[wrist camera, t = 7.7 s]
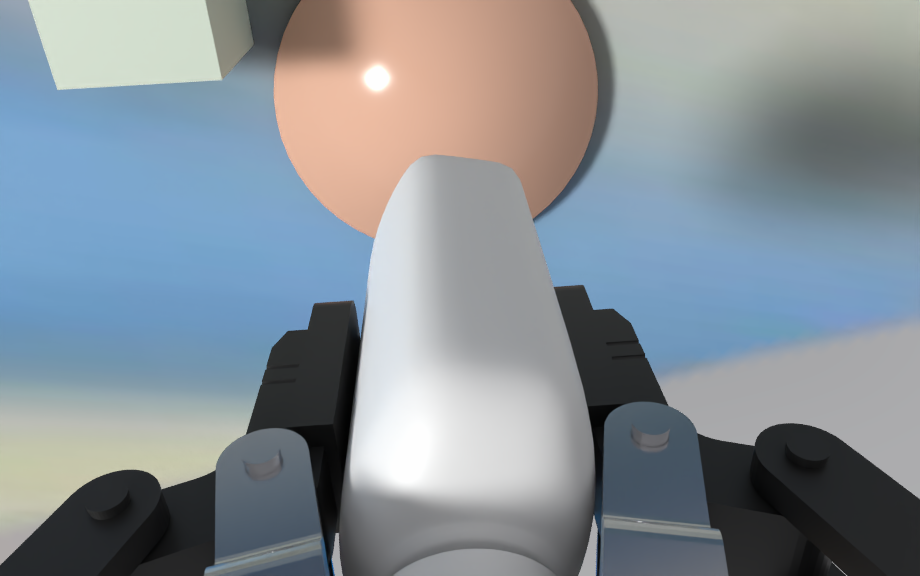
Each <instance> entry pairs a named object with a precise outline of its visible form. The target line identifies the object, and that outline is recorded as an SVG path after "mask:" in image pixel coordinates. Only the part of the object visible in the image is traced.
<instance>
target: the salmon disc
mask: <svg viewBox="0 0 920 576" xmlns="http://www.w3.org/2000/svg"><path fill="white" fill-rule="evenodd" d="M597 101H598V77H597V69H596V63H595V57H594V52H593V49H592V46H591V42H590V39H589V35H588V33H587V30H586V28H585V26H584V24H583V22H582V19H581V17H580V15H579V13H578V11H577V10H576V8H575V7H574V5H573V4H572V2H571V0H301V1H300V3H299V4H298V6H297V7H296V9H295V10H294V12H293V14H292V16H291V18H290V20H289V23H288V25H287V27H286V29H285V31H284V34H283V37H282V41H281V44H280V48H279V51H278V55H277V61H276V68H275V74H274V102H275V111H276V118H277V122H278V126H279V130H280V134H281V138H282V141H283V143H284V146H285V148H286V151H287V153H288V156H289V158H290V160H291V162H292V164H293V165H294V167H295V169H296V171H297V173H298V175H299V176H300V177H301V179H302V180H303V182H304V183H305V184H306V186H307V187H308V189H309V190H310V191H311V192H312V193H313V195H314V196H315V197H316V198H317V199H318V200H319V201H320V202H321V203H322V204H323V205H324V206H325V207H326V208H327V209H328V210H330V211H331V212H332V213H333V214H334V215H336V216H337V217H338V218H339V219H341V220H342V221H344V222H345V223H347V224H348V225H350V226H351V227H353V228H354V229H356V230H358V231H360V232H362V233H364V234H366V235H368V236H370V237H372V238H375V237H376V233H377V230H378V227H379V224H380V221H381V218H382V215H383V213H384V211H385V208H386V206H387V204H388V201H389V199H390V197H391V195H392V193H393V191H394V189H395V188H396V186H397V184H398V182H399V181H400V179H401V177H402V176H403V174H404V173H405V172H406V170H407V169H408V167H409V166H410V165H411V164H412V163H414V162H415V161H416V160H418V159H419V158H420V157H423V156H429V155H446V156H456V157H463V158H471V159H479V160H486V161H492V162H498V163H501V164H503V165H506V166H508V167H510V168H512V169H513V170H514V172H515V173H516V175H517V176H518V177H519V179H520V181H521V184H522V187H523V190H524V193H525V197H526V200H527V203H528V206H529V209H530V213H531V216H532V219H533V218H535V217H536V216H537V215H538V214H539V213H541V212H542V211H543V210H544V209H545V208H546V207H547V206H549V205H550V204H551V203H552V201H553V200H554V199H555V198H556V197H557V196H558V195H559V194H560V193H561V192H562V190H563V189H564V188H565V186H566V185H567V183H568V182H569V181H570V179H571V178H572V176H573V175H574V173H575V172H576V170H577V168H578V166H579V164H580V162H581V160H582V158H583V157H584V154H585V151H586V149H587V146H588V144H589V141H590V138H591V135H592V131H593V126H594V122H595V118H596V110H597Z"/></svg>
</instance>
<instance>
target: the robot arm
mask: <svg viewBox="0 0 920 576" xmlns="http://www.w3.org/2000/svg"><path fill="white" fill-rule="evenodd" d="M554 290H555V293H556V297H557V300H558V303H559V306H560V310H561V313H562V316H563V320H564V323H565V326H566V329H567V333H568V336H569V339H570V343H571V346H572V350H573V353H574V357H575V361H576V364H577V368H578V371H579V375H580V379H581V382H582V386H583V389H584V394H585V399H586V403H587V408H588V413H589V419H590V424H591V430H592V437H593V443H594V458H595V472H596V478H595V504H594V514H593V515H594V516H595V520H596V524H597V528H598V533H597V534H598V535H597V549H596V576H846V575H847V576H920V499H919V498H917V497H916V496H915V495H913V494H912V493H911V492H909V491H908V490H907V489H905V488H904V487H903V486H901V485H900V484H899V483H897V482H896V481H895V480H893V479H892V478H891V477H890V476H888V475H887V474H886V473H884V472H883V471H882V470H880V469H879V468H878V467H876V466H875V465H874V464H872V463H871V462H870V461H868V460H867V459H866V458H864V457H863V456H862V455H860V454H859V453H857V452H856V451H855V450H853V449H852V448H851V447H850V446H848V445H847V444H846V443H844V442H843V441H842V440H840V439H839V438H837V437H836V436H834V435H832V434H830V433H828V432H826V431H824V430H821V429H819V428H816V427H812V426H808V425H803V424H794V423H790V424H789V423H788V424H778V425H775V426H771V427H769V428H767V429H765V430H764V431H763V432H761V433H760V434H759V436H758V437H757V439H756V442H755V446H751V445H744V444H738V443H732V442H726V441H720V440H715V439H711V438H708V437H705V436H703V435H700V434H698V433H697V432H696V429H695V427H694V425H693V423H692V422H691V421H690V419H688V418H687V417H686V416H685V415H684V414H683V413H681V412H679V411H678V410H676V409H674V408H672V407H669V406H668V404H667V402H666V400H665V397H664V396H663V393H662V391H661V388H660V386H659V384H658V382H657V380H656V377H655V375H654V373H653V371H652V369H651V367H650V364H649V362H648V360H647V358H645V353H644V351H643V349H642V347H641V345H640V344H639V340H638V338H637V336H636V334H635V331H634V329H633V327H632V325H631V323H630V322H629V321H628V320H626V319H625V318H624V317H623V316H621V315H620V314H619V313H618V312H616V311H615V310H614V309H602V310H593V308H592V306H591V303H590V300H589V298H588V295H587V293H586V290H585V288H584V286H583V285H576V286H562V287H554ZM359 348H360V333H359V327H358V320H357V313H356V307H355V304H354V301H340V302H326V303H315V304H314V306H313V309H312V314H311V318H310V322H309V326H308V330H296V331H288V332H287V333H286V334H285V335H284V336H283V337H282V338H281V339H280V340H279V341H278V342H277V343H276V344H275V345H274V346H273V347H272V349H271V353H270V356H269V359H268V363H267V370H265V373H264V376H263V379H262V385H261V386H260V389H259V393H258V396H257V399H256V403H255V406H254V409H253V413H252V416H251V419H250V423H249V426H248V429H247V433H246V435H244V436H242V437H240V438H238V439H237V440H236V441H234V442H233V443H231V444H230V445H229V446H228V447H227V448H226V449H225V450H224V451H223V452H222V454H221V455H220V457H219V459H218V461H217V464H216V470H215V471H213V472H211V473H209V474H207V475H205V476H202V477H200V478H197V479H194V480H191V481H187V482H184V483H181V484H178V485H174V486H171V487H168V488H165V489H161V487H160V484H159V482H158V480H157V479H156V478H155V477H154V476H153V475H151V474H149V473H147V472H144V471H140V470H122V471H116V472H112V473H109V474H106V475H103V476H100V477H98V478H96V479H94V480H92V481H90V482H88V483H87V484H85V485H84V486H82V487H81V488H79V489H78V490H77V491H76V492H75V493H73V494H72V495H71V496H70V497H69V498H68V499H67V500H66V501H65V502H64V503H63V504H62V505H61V506H60V507H59V508H58V509H57V510H56V511H55V512H54V513H53V514H52V515H51V516H50V517H49V518H48V519H47V520H46V521H45V522H44V523H43V524H42V525H41V526H40V527H39V528H38V529H37V530H36V531H35V532H34V533H33V534H32V535H31V536H30V537H29V538H28V539H27V540H25V542H23V543H22V544H21V546H20V547H18V549H16V550H15V552H14V553H12V554H11V555H10V556H9V557H8V558H7V559H6V560H5V561H4V562H3V563H2V564H1V565H0V576H335V574H334V568H333V563H332V555H333V549H334V541H335V533H339V523H340V508H341V497H342V488H343V479H344V471H345V463H346V454H347V446H348V438H349V430H350V421H351V413H352V405H353V397H354V389H355V381H356V373H357V364H358V356H359ZM832 562H833V563H834V564H835V565H837V566H838V567H839V568H840V569H841V570H842V571H843V572H844V573H845V574H846V575H845V574H844V573H842V572H841V571H840V570H839V569H838V568H837V567H836V566H835V565H834V564H833V563H832Z"/></svg>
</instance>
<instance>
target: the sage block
mask: <svg viewBox="0 0 920 576" xmlns="http://www.w3.org/2000/svg"><path fill="white" fill-rule="evenodd" d="M28 1H29V4H30V7H31V10H32V14H33V17H34V20H35V23H36V26H37V29H38V32H39V35H40V38H41V41H42V44H43V47H44V50H45V53H46V56H47V59H48V62H49V65H50V68H51V71H52V74H53V78H54V81H55V84H56V87H57V90H62V89H78V88H95V87H112V86H129V85H146V84H163V83H180V82H197V81H213V80H223V78H224V77H225V76H226V75H227V74H228V73H229V72H230V71H231V70H232V68H233V67H234V66H235V65H236V64H237V63H238V62H239V61H240V60H241V59H242V57H243V56H244V55H245V54H246V53H247V52H248V51H249V50H250V49H251V48H252V46H253V45H254V42H253V37H252V32H251V26H250V21H249V15H248V10H247V5H246V0H28Z"/></svg>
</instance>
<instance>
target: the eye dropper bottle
mask: <svg viewBox="0 0 920 576" xmlns="http://www.w3.org/2000/svg"><path fill="white" fill-rule="evenodd" d="M595 478H596V472H595V458H594V443H593V437H592V430H591V424H590V419H589V413H588V408H587V403H586V399H585V394H584V389H583V386H582V382H581V379H580V375H579V371H578V368H577V364H576V361H575V357H574V353H573V350H572V346H571V343H570V339H569V336H568V333H567V329H566V326H565V323H564V320H563V316H562V313H561V310H560V306H559V303H558V300H557V297H556V293H555V290H554V287H553V283H552V280H551V277H550V274H549V270H548V267H547V264H546V261H545V257H544V254H543V251H542V248H541V245H540V241H539V238H538V235H537V232H536V229H535V225H534V222H533V219H532V216H531V213H530V209H529V206H528V203H527V200H526V197H525V193H524V190H523V187H522V184H521V181H520V179H519V177H518V176H517V175H516V173H515V172H514V170H513V169H512V168H510V167H508V166H506V165H503V164H501V163H498V162H492V161H486V160H479V159H471V158H463V157H456V156H446V155H429V156H423V157H420V158H419V159H418V160H416V161H415V162H414V163H412V164H411V165H410V166H409V167H408V169H407V170H406V172H405V173H404V174H403V176H402V177H401V179H400V181H399V182H398V184H397V186H396V188H395V189H394V191H393V193H392V195H391V197H390V199H389V201H388V204H387V206H386V208H385V211H384V213H383V215H382V218H381V221H380V224H379V227H378V230H377V233H376V237H375V241H374V245H373V250H372V255H371V261H370V268H369V276H368V284H367V292H366V300H365V308H364V316H363V324H362V332H361V340H360V348H359V356H358V364H357V373H356V381H355V389H354V397H353V405H352V413H351V421H350V430H349V438H348V446H347V454H346V463H345V471H344V479H343V488H342V497H341V508H340V523H339V545H340V559H341V566H342V573H343V576H578V574H579V572H580V569H581V566H582V563H583V560H584V557H585V553H586V550H587V546H588V542H589V537H590V532H591V527H592V521H593V514H594V504H595Z"/></svg>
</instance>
